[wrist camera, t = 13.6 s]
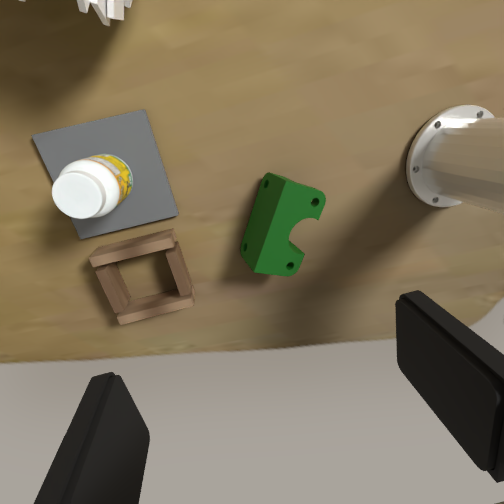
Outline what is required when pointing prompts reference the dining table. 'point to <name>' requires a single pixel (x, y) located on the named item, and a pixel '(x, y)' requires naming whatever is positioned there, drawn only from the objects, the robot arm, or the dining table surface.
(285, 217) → the clamp
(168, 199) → the rubber mat
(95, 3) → the white origami shape
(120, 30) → the dining table surface
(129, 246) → the frame
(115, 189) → the supplement bottle
